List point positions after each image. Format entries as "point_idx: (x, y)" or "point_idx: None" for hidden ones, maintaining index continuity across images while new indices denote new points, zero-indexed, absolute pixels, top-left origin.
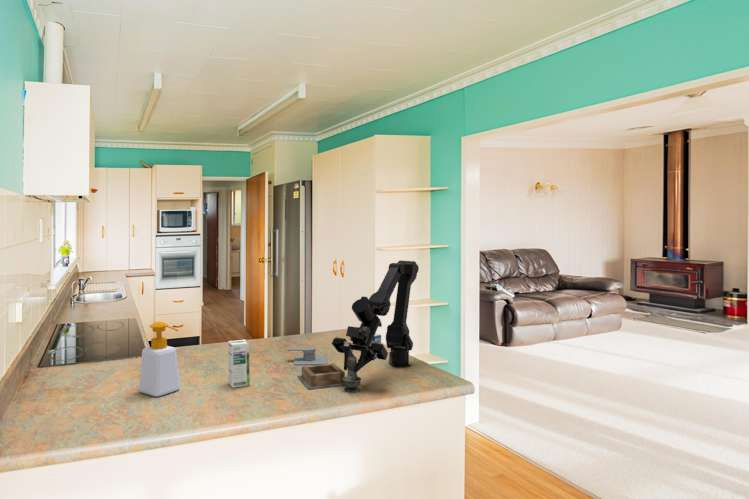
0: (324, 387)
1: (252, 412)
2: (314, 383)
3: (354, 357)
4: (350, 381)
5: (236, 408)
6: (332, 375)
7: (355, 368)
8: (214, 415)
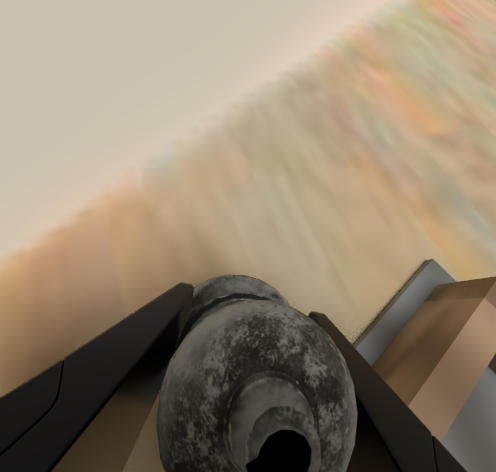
0: (380, 313)
1: (430, 40)
2: (441, 295)
3: (194, 376)
4: (224, 276)
5: (485, 55)
6: (408, 386)
7: (178, 294)
8: (488, 17)
